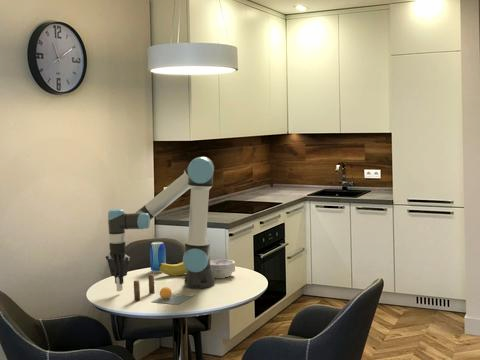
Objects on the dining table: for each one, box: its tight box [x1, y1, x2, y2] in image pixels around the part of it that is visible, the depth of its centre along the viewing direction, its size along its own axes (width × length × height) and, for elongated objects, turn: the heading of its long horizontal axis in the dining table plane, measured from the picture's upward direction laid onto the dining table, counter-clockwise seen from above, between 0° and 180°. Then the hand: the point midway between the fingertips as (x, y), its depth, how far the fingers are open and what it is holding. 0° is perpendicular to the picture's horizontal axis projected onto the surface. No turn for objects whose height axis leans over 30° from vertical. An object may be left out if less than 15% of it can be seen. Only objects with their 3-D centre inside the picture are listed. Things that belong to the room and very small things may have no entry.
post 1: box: [133, 279, 141, 302], centre depth 277 cm, size 3×3×9 cm
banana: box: [159, 261, 187, 277], centre depth 323 cm, size 23×6×20 cm, turn 106°
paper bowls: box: [210, 259, 236, 279], centre depth 317 cm, size 15×15×8 cm
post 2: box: [147, 273, 156, 295], centre depth 288 cm, size 3×3×9 cm
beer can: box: [149, 241, 167, 274], centre depth 333 cm, size 8×8×16 cm
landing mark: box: [151, 293, 194, 306], centre depth 277 cm, size 14×14×1 cm
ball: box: [159, 286, 173, 299], centre depth 278 cm, size 6×6×6 cm
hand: (119, 290), depth 288 cm, fingers closed
